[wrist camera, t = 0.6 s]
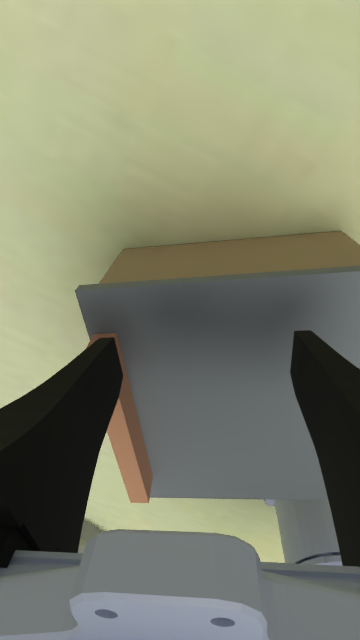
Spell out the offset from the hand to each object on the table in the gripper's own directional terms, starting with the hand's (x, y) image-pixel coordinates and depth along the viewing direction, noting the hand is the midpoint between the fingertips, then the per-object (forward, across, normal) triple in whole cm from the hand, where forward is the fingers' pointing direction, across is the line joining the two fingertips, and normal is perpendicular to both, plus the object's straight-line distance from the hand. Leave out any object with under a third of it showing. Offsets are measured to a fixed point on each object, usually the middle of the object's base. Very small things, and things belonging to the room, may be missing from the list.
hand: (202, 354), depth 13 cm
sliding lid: (+3, -2, +7) cm, 8 cm away
